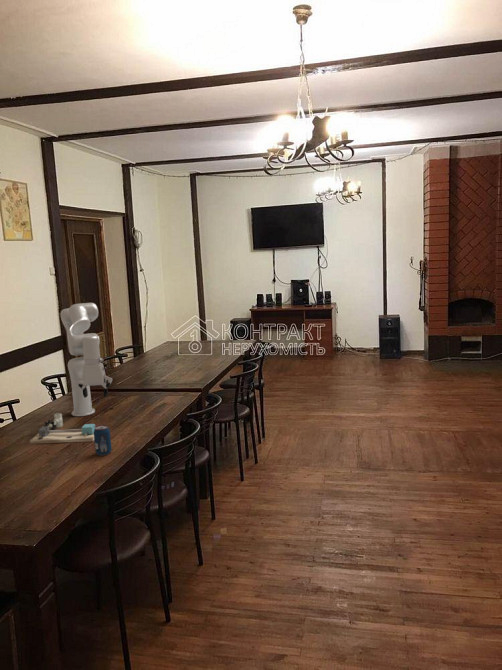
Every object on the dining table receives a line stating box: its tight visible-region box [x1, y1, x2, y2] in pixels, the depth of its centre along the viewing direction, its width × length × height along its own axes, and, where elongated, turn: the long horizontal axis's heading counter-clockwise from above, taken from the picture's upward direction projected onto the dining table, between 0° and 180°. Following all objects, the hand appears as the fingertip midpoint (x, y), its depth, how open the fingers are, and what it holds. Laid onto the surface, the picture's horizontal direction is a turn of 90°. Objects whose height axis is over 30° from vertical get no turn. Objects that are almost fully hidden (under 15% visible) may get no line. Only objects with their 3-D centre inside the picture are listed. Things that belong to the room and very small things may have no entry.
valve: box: [42, 412, 64, 430], centre depth 275 cm, size 7×7×12 cm
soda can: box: [93, 424, 112, 456], centre depth 237 cm, size 7×7×12 cm
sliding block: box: [81, 423, 96, 436], centre depth 259 cm, size 8×5×4 cm, turn 179°
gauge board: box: [29, 425, 94, 445], centre depth 260 cm, size 12×30×5 cm, turn 89°
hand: (95, 396), depth 257 cm, fingers open, 9 cm apart
